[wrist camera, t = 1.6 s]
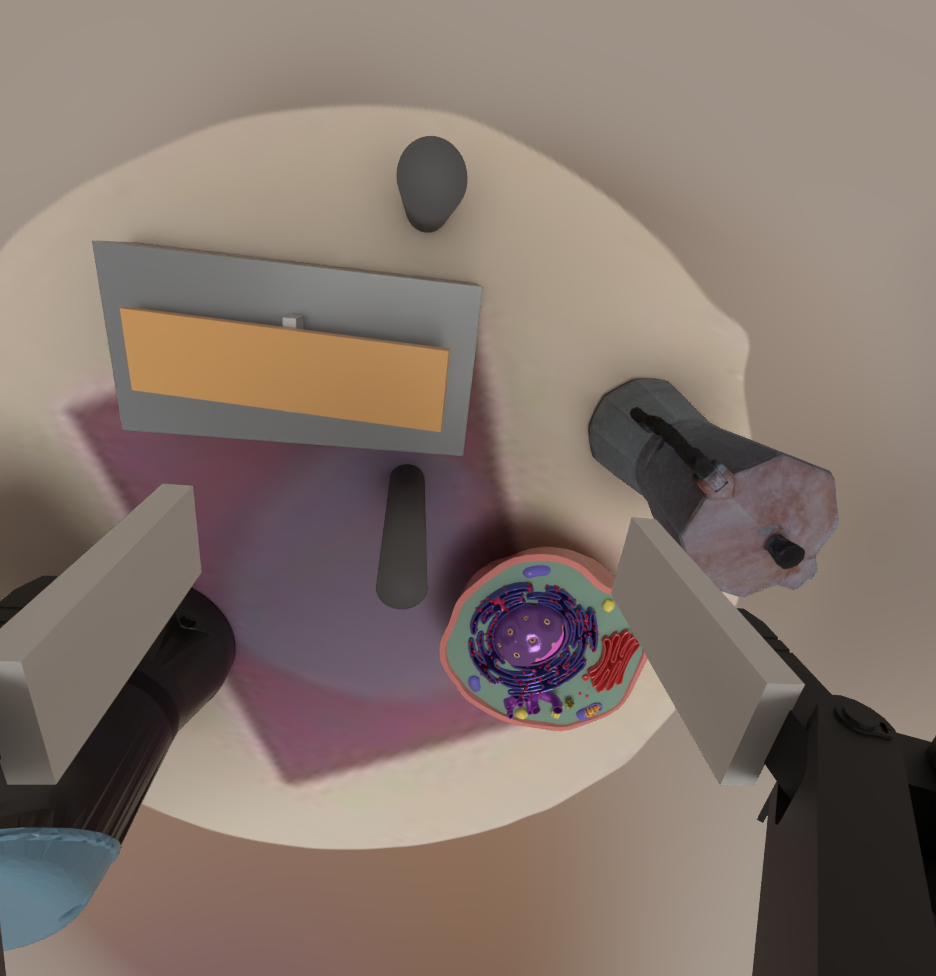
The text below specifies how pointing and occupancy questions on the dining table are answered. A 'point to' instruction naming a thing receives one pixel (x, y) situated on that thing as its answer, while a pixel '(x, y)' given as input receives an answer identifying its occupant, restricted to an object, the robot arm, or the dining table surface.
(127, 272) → the block
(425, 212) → the post
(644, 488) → the moka pot
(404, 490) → the post
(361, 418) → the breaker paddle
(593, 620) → the cell model
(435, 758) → the dining table surface
